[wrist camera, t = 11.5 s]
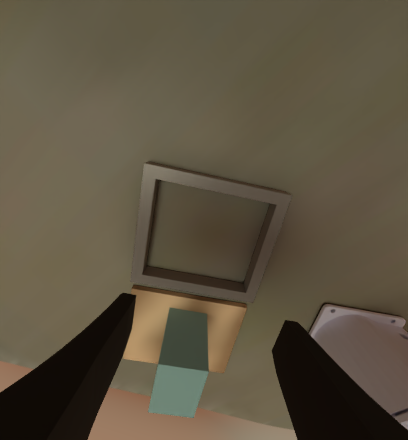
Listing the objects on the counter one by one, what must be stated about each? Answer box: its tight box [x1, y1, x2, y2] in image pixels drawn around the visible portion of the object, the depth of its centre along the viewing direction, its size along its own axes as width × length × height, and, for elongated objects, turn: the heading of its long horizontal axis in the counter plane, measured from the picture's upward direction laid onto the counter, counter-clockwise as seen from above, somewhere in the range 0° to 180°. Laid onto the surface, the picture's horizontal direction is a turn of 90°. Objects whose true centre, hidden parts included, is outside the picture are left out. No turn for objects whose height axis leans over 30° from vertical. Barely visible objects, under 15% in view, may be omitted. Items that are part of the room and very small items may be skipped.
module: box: [148, 308, 209, 418], centre depth 20 cm, size 4×6×6 cm, turn 167°
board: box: [123, 285, 247, 373], centre depth 23 cm, size 12×10×1 cm
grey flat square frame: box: [130, 162, 292, 303], centre depth 19 cm, size 12×11×2 cm
